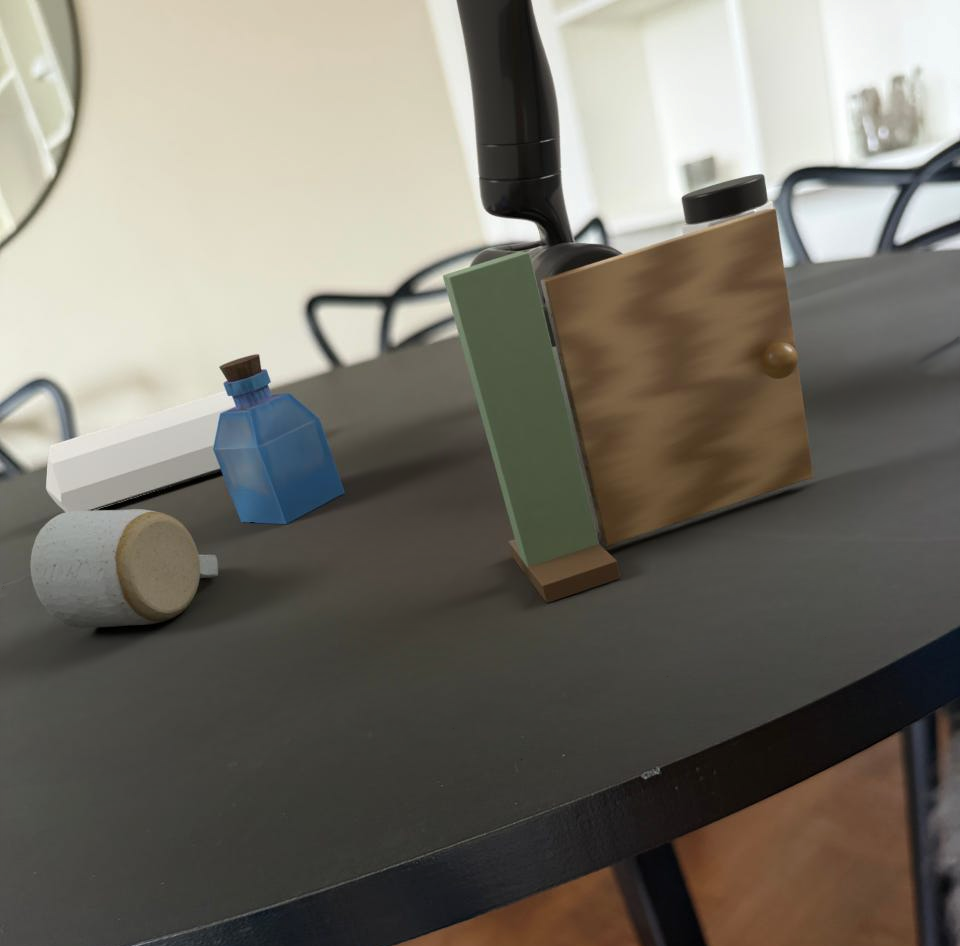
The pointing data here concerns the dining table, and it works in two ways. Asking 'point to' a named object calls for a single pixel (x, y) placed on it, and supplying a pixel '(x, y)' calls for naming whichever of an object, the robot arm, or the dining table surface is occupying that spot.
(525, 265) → the door wall
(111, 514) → the ceramic mug
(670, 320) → the door
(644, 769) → the dining table surface
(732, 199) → the jar
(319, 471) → the perfume bottle
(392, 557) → the dining table surface
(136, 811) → the dining table surface
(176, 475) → the white beveled bar
